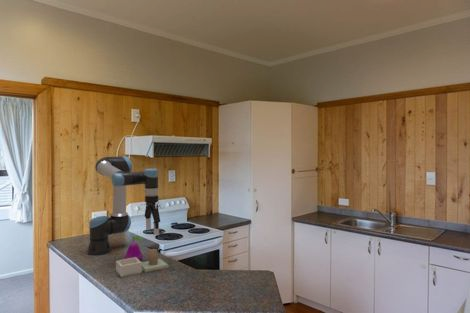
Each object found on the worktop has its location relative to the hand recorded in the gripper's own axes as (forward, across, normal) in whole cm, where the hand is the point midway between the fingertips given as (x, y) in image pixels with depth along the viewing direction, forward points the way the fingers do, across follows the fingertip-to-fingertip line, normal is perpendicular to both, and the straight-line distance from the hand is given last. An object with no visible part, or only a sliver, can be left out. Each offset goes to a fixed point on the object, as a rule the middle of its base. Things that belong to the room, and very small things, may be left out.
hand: (152, 231), depth 185 cm
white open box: (+20, 0, -14) cm, 25 cm away
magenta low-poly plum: (+21, -19, -6) cm, 29 cm away
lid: (+20, 0, 0) cm, 20 cm away
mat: (+20, 0, 0) cm, 20 cm away
